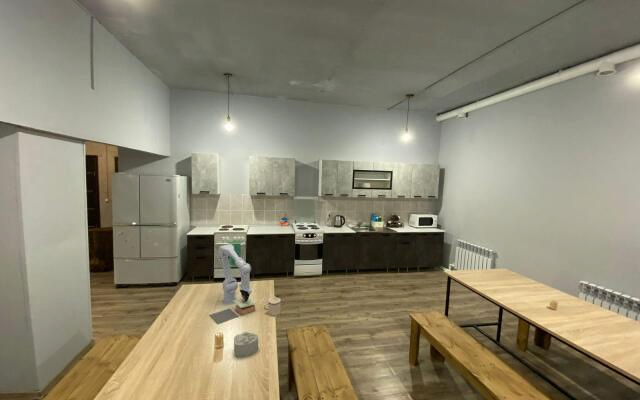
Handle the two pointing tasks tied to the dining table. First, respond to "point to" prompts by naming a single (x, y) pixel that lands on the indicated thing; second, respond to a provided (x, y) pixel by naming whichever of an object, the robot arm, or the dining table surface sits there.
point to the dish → (245, 309)
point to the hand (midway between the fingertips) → (245, 299)
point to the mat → (223, 316)
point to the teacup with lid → (273, 306)
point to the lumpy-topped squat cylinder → (245, 344)
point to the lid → (244, 302)
